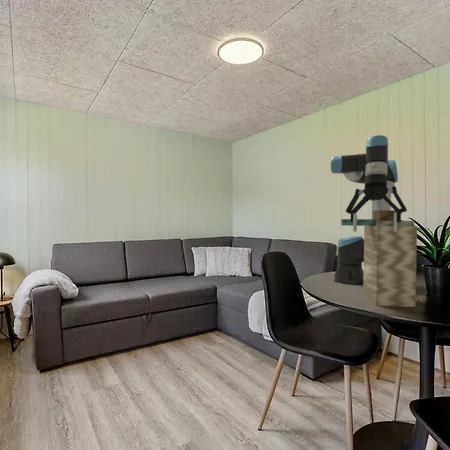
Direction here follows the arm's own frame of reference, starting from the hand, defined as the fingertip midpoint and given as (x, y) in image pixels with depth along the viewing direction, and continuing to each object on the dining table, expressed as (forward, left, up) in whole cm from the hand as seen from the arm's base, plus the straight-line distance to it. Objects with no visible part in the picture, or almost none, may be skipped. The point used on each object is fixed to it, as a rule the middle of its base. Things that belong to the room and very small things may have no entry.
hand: (374, 231), depth 111 cm
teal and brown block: (-7, -7, +2) cm, 10 cm away
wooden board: (-13, -2, -28) cm, 31 cm away
